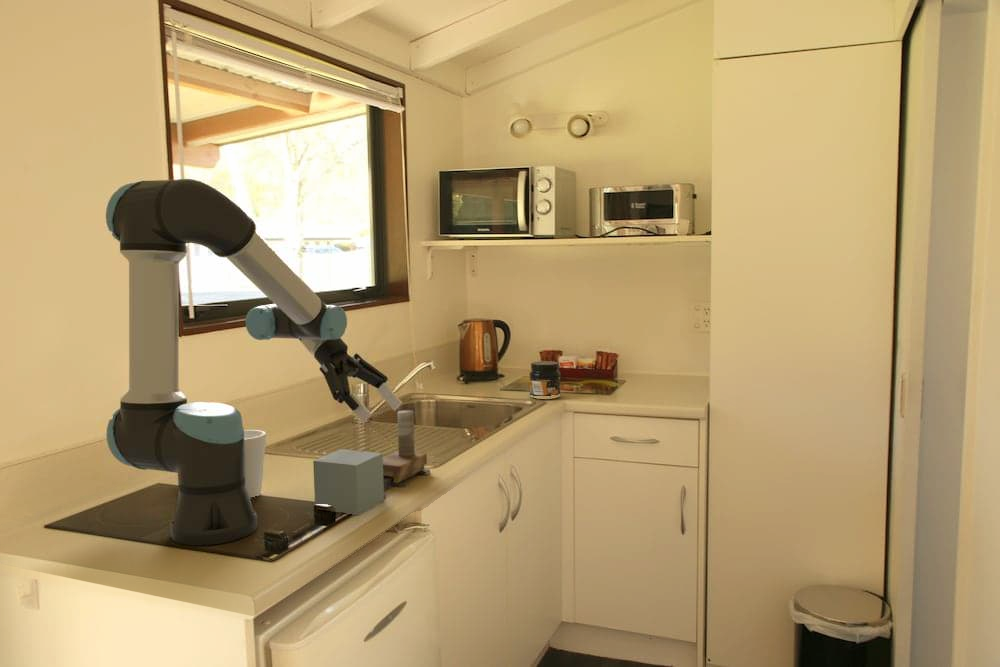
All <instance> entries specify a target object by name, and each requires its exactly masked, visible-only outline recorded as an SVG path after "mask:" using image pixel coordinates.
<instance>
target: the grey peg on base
mask: <svg viewBox="0 0 1000 667" xmlns="http://www.w3.org/2000/svg"><path fill="white" fill-rule="evenodd" d="M414 414H415V413H414V410H408V409H407V410H406V409H405V410H404V409H403V410H399V411H397V436H398V437H397V438H398V439H397V443H398V448H397V449H398V451H396V452H394V453H392V454H390V455H388V456H386V457H383V476H392V477H394V483H399V482H400V481H402V480H404V479H406V478H408V477H410V476H412V475H414V474H415V473H417V472H419V471H421V470H423V469H425V465H427V463H428V458H427V453H426V452H425V453H424V452H417V451H416V452H415V424H414V423H415V422H414V421H415V419H414V418H415V417H414V416H415V415H414ZM414 476H415V475H414ZM412 477H413V476H412ZM410 478H411V477H410ZM408 479H409V478H408ZM406 480H407V479H406ZM404 481H405V480H404Z"/></svg>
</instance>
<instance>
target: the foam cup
mask: <svg viewBox="0 0 1000 667" xmlns="http://www.w3.org/2000/svg"><path fill="white" fill-rule="evenodd" d="M266 445H267V434H266V431H264V430H260V429H244V454H245V483H246V489H247V492H248V494H249V497H254V498H256V497H255V496H257V497H259V496H260V495H261V494H262V488H263V475H264V474H263V473H264V463H265V453H266Z"/></svg>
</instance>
